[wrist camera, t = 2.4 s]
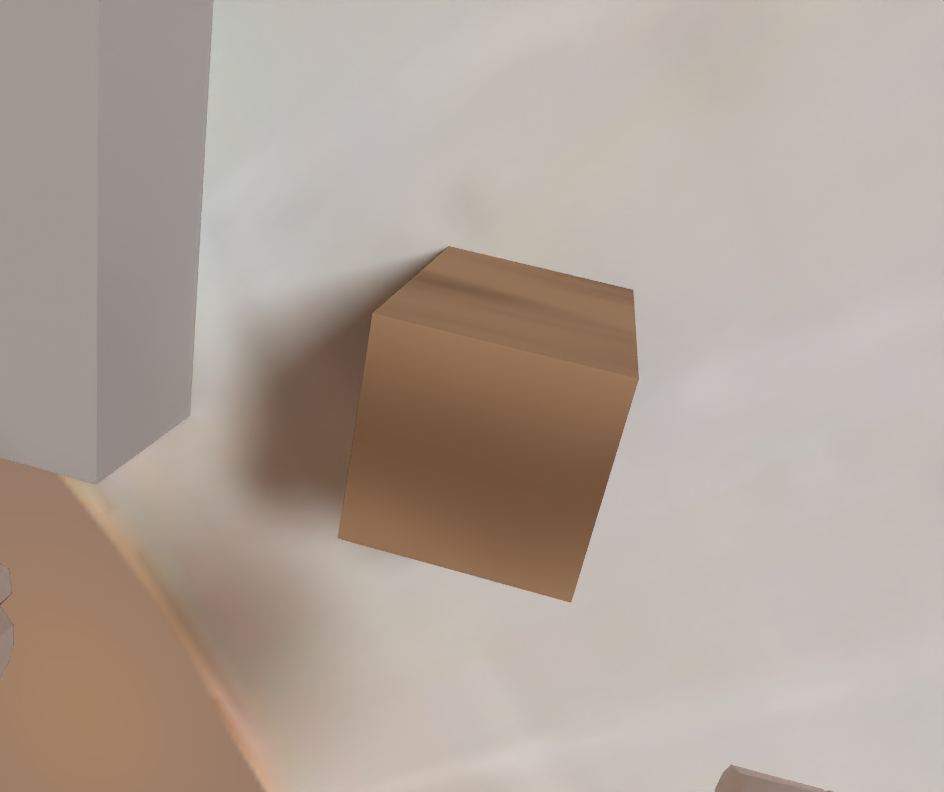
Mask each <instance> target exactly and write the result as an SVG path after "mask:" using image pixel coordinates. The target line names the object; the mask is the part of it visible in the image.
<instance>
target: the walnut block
mask: <svg viewBox="0 0 944 792" xmlns="http://www.w3.org/2000/svg"><path fill="white" fill-rule="evenodd" d="M638 380H639V375H638V359H637V343H636V327H635V311H634V295H633V290H631V289H627V288H623V287H618V286H614V285H610V284H606V283H602V282H597V281H593V280H589V279H585V278H581V277H576V276H572V275H568V274H564V273H559V272H555V271H551V270H547V269H543V268H538V267H534V266H530V265H526V264H521V263H517V262H513V261H509V260H505V259H500V258H496V257H492V256H488V255H484V254H479V253H475V252H471V251H467V250H462V249H458V248H454V247H450V246H449V247H448V248H447V249H445V250H444V251H443V252H442V253H441V254H440V255H438V256H437V257H436V258H435V259H434V260H433V261H432V262H430V263H429V264H428V265H427V266H426V267H425V268H424V269H422V270H421V271H420V272H419V273H418V274H417V275H416V276H414V277H413V278H412V279H411V280H410V281H409V282H407V283H406V284H405V285H404V286H403V287H402V288H401V289H399V290H398V291H397V292H396V293H395V294H394V295H393V296H391V297H390V298H389V299H388V300H387V301H386V302H385V303H383V304H382V305H381V306H380V307H379V308H378V309H376V310H375V311H374V312H373V313H372V319H371V326H370V332H369V339H368V345H367V352H366V358H365V365H364V371H363V378H362V384H361V391H360V397H359V404H358V411H357V417H356V424H355V430H354V437H353V443H352V450H351V456H350V463H349V469H348V476H347V482H346V489H345V495H344V502H343V509H342V515H341V522H340V528H339V535H338V538H339V539H342V540H346V541H350V542H353V543H357V544H361V545H364V546H368V547H371V548H375V549H379V550H382V551H386V552H390V553H393V554H397V555H400V556H404V557H408V558H411V559H415V560H419V561H422V562H426V563H429V564H433V565H437V566H440V567H444V568H448V569H451V570H455V571H458V572H462V573H466V574H469V575H473V576H477V577H480V578H484V579H488V580H491V581H495V582H498V583H502V584H506V585H509V586H513V587H517V588H520V589H524V590H527V591H531V592H535V593H538V594H542V595H546V596H549V597H553V598H556V599H560V600H564V601H567V602H571V601H572V598H573V595H574V591H575V588H576V585H577V581H578V578H579V575H580V571H581V568H582V565H583V561H584V558H585V555H586V552H587V548H588V545H589V542H590V538H591V535H592V532H593V528H594V525H595V522H596V518H597V515H598V512H599V509H600V505H601V502H602V499H603V495H604V492H605V489H606V485H607V482H608V479H609V475H610V472H611V469H612V466H613V462H614V459H615V456H616V452H617V449H618V446H619V442H620V439H621V436H622V432H623V429H624V426H625V423H626V419H627V416H628V413H629V409H630V406H631V403H632V399H633V396H634V393H635V389H636V386H637V383H638Z"/></svg>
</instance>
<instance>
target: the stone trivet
mask: <svg viewBox="0 0 944 792" xmlns="http://www.w3.org/2000/svg"><path fill="white" fill-rule="evenodd" d="M212 15H213V0H0V458H3V459H6V460H10V461H13V462H17V463H21V464H24V465H28V466H32V467H35V468H39V469H43V470H46V471H50V472H53V473H57V474H61V475H64V476H68V477H72V478H75V479H79V480H83V481H86V482H90V483H93V484H97V483H99V482H100V481H101V480H103V479H104V478H106V477H107V476H108V475H110V474H111V473H112V472H114V471H115V470H116V469H118V468H119V467H121V466H122V465H123V464H125V463H126V462H127V461H129V460H130V459H131V458H133V457H134V456H136V455H137V454H138V453H140V452H141V451H142V450H144V449H145V448H146V447H148V446H149V445H151V444H152V443H153V442H155V441H156V440H157V439H159V438H160V437H161V436H163V435H164V434H165V433H167V432H168V431H170V430H171V429H172V428H174V427H175V426H176V425H178V424H179V423H180V422H182V421H183V420H185V419H186V418H187V417H189V416H190V407H191V389H192V372H193V354H194V336H195V318H196V300H197V283H198V265H199V247H200V229H201V211H202V193H203V176H204V158H205V140H206V122H207V104H208V87H209V69H210V51H211V33H212Z"/></svg>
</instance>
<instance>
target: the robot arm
mask: <svg viewBox="0 0 944 792" xmlns="http://www.w3.org/2000/svg"><path fill="white" fill-rule="evenodd" d="M11 591H12V590H11V581H10V572H9V569H8V568H6V567H5V566H3V565H1V564H0V605H1V604H2V603H3V602H4V600H6V599H7V597H9V596H10V595H11V594H12V592H11ZM13 644H14V631H13V624H12V622H11V621H10V619H9V618H8V616H7V615H6V613H5V612H4V610H3V609H2V607H1V606H0V677H1V675H2V674H3V672H4V670H5V668H6V666H7V665H8V663H9V660H10V655H11V652H12V647H13ZM715 792H833V791H824V790H823V789H820V788H816V787H813V786H809V785H805V784H801V783H798V782H794V781H790V780H786V779H783V778H779V777H775V776H771V775H768V774H764V773H760V772H756V771H753V770H749V769H745V768H741V767H738V766H734V765H730V766H729V767H728V768H727V769H726V770H725V771H724V772H723V774H722V776H721V778H720V780H719V782H718V784H717V786H716V788H715Z"/></svg>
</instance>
